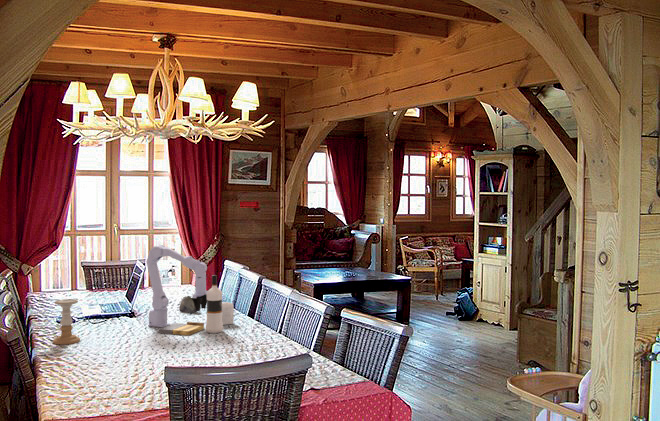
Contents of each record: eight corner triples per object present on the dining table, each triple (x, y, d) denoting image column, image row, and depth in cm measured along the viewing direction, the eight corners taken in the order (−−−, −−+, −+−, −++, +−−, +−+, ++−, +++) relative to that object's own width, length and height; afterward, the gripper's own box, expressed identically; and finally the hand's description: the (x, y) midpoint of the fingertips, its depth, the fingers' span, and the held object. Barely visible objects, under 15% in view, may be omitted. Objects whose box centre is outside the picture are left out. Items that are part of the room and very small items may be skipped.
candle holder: (85, 340, 311) (85, 299, 310) (67, 345, 299) (67, 303, 299) (65, 338, 315) (65, 298, 314) (47, 343, 303) (46, 302, 303)
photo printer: (231, 322, 354) (231, 300, 354) (234, 324, 350) (234, 302, 350) (214, 324, 348) (214, 302, 348) (217, 326, 345) (217, 303, 344)
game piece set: (250, 362, 273) (250, 354, 273) (215, 356, 284) (215, 347, 284) (277, 353, 290) (277, 344, 290) (243, 347, 300) (243, 339, 300)
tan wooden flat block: (172, 333, 325) (172, 327, 325) (188, 327, 340) (188, 321, 340) (188, 335, 322) (188, 329, 322) (204, 328, 338) (204, 322, 337)
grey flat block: (158, 332, 327) (158, 328, 327) (174, 326, 343) (174, 322, 343) (172, 334, 325) (172, 330, 325) (187, 327, 340) (187, 323, 340)
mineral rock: (201, 313, 381) (201, 297, 380) (183, 315, 375) (183, 298, 375) (195, 309, 392) (195, 293, 392) (178, 311, 387) (178, 295, 386)
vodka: (204, 330, 334) (204, 274, 333) (221, 329, 337) (221, 273, 336) (207, 334, 325) (207, 276, 324) (224, 332, 329) (224, 275, 328)
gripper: (200, 286, 335) (200, 312, 335) (213, 283, 349) (213, 307, 349) (189, 286, 337) (189, 311, 337) (202, 282, 351) (202, 306, 351)
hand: (200, 309), depth 343 cm, fingers open, 6 cm apart
